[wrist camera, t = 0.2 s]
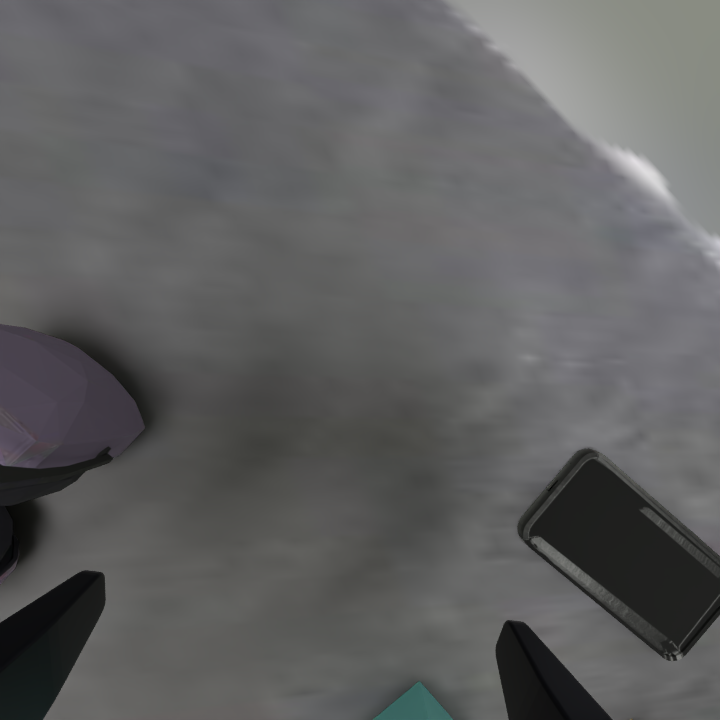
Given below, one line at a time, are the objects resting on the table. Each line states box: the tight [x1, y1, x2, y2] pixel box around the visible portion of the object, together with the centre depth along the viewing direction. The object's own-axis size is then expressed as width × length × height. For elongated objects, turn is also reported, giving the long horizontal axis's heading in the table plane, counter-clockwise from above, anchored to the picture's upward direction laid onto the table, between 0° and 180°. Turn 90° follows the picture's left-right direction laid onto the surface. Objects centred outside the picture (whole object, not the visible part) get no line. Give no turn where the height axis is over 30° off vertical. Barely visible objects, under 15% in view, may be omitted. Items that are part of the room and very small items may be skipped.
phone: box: [518, 449, 720, 661], centre depth 25 cm, size 8×1×15 cm
